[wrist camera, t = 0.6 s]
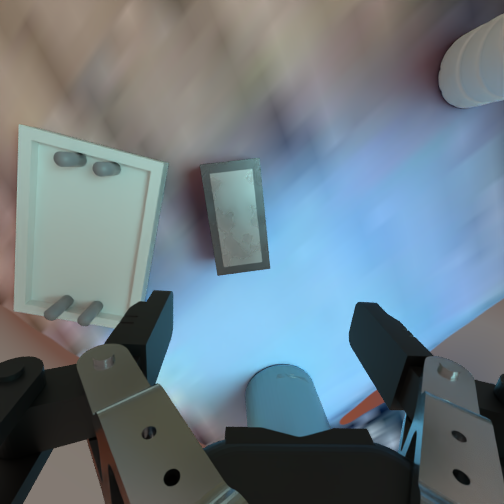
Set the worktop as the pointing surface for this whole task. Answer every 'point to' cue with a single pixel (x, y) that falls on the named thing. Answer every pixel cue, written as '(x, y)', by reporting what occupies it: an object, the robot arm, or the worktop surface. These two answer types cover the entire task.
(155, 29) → the worktop surface
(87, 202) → the tray
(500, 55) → the water bottle
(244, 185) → the block
